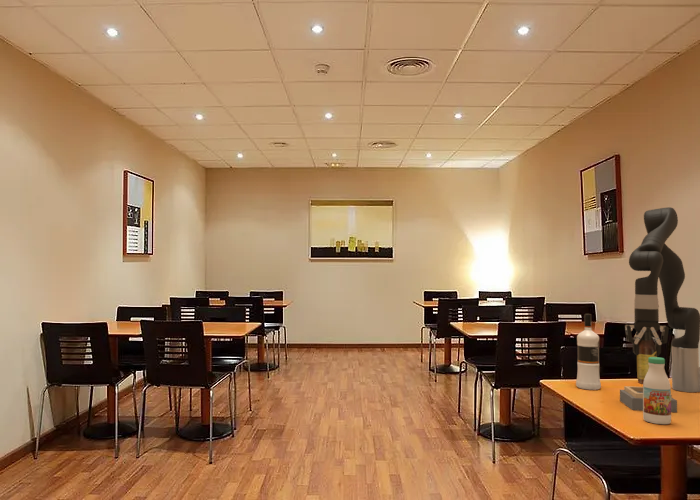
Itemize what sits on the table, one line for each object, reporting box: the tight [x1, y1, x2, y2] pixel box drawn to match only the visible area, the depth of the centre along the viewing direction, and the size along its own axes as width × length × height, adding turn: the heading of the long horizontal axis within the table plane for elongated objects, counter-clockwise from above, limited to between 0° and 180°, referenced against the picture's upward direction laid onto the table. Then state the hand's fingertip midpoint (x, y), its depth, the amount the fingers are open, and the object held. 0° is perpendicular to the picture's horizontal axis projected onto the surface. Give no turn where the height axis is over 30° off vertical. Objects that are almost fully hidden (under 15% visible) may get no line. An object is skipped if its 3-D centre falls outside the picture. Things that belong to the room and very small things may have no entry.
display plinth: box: [619, 385, 678, 413], centre depth 193 cm, size 14×14×6 cm
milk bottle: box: [642, 356, 672, 425], centre depth 173 cm, size 8×8×20 cm
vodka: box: [575, 313, 602, 391], centre depth 223 cm, size 9×9×30 cm
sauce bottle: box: [636, 328, 658, 385], centre depth 193 cm, size 7×6×20 cm
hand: (646, 354), depth 193 cm, fingers closed on sauce bottle, 6 cm apart
